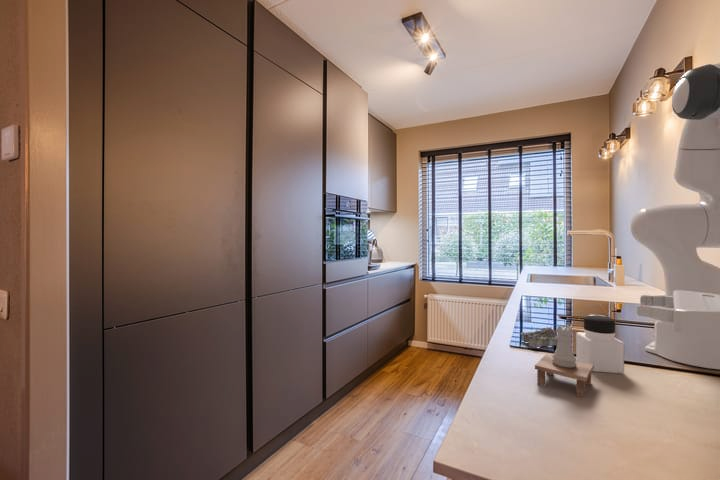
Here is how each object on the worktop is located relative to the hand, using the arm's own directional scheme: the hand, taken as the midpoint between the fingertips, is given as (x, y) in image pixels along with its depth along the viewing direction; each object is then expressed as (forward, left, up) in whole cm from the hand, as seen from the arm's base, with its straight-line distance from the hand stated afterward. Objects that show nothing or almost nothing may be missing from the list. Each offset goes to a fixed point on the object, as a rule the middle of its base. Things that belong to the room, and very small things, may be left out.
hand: (638, 304), depth 62 cm
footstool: (+1, -12, -18) cm, 22 cm away
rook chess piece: (+1, -12, -14) cm, 19 cm away
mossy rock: (-25, -22, -19) cm, 38 cm away
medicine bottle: (-15, -8, -19) cm, 25 cm away
